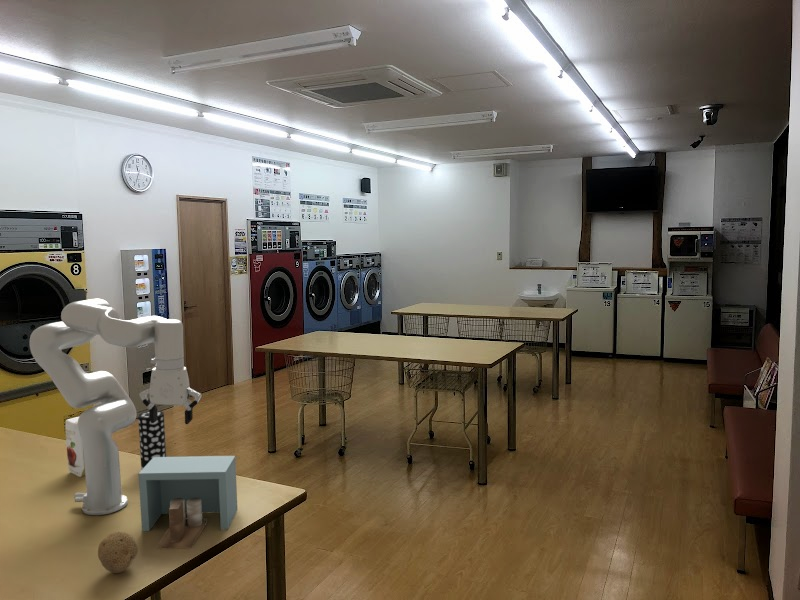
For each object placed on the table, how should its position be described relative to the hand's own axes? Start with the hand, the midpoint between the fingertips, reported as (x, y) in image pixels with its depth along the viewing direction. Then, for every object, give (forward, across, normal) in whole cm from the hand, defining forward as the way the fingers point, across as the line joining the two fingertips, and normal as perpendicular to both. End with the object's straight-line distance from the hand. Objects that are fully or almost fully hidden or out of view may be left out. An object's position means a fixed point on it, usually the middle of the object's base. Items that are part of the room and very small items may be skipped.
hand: (171, 422), depth 178 cm
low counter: (+30, +5, 0) cm, 30 cm away
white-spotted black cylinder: (+31, -20, +37) cm, 53 cm away
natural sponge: (+30, -4, -26) cm, 40 cm away
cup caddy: (+30, +6, -8) cm, 31 cm away
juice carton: (+32, -44, +35) cm, 65 cm away
